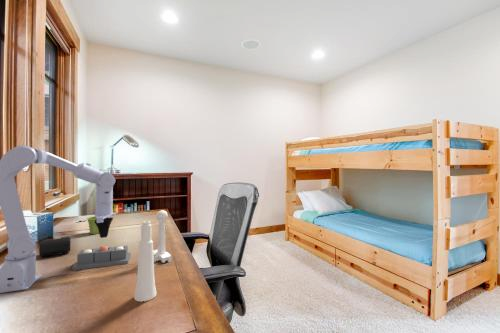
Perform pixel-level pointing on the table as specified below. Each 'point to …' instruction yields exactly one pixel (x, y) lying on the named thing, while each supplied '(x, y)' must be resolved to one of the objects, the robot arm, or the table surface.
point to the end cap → (54, 246)
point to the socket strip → (101, 258)
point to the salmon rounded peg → (104, 248)
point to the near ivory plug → (87, 251)
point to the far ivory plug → (119, 248)
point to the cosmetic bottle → (145, 266)
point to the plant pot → (93, 225)
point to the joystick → (161, 239)
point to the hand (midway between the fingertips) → (103, 237)
